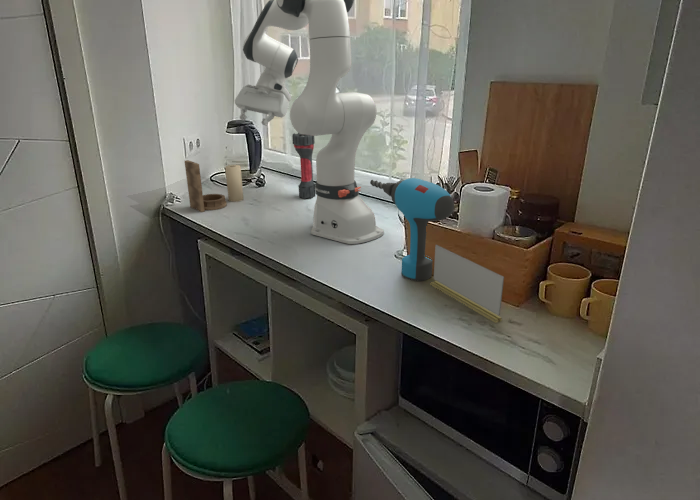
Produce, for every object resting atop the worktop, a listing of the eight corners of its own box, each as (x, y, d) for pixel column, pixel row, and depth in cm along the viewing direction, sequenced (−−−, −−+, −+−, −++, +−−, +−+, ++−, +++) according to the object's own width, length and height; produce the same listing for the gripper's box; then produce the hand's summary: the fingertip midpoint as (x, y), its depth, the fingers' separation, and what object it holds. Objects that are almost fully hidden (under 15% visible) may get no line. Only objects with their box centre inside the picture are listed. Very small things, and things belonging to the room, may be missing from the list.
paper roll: (246, 199, 184) (243, 166, 180) (233, 202, 181) (230, 168, 176) (238, 196, 188) (235, 163, 183) (225, 199, 185) (222, 165, 180)
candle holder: (232, 206, 177) (227, 159, 171) (202, 212, 170) (197, 165, 164) (217, 200, 184) (213, 155, 178) (189, 206, 177) (183, 160, 171)
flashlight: (300, 201, 182) (297, 135, 173) (292, 196, 188) (288, 132, 179) (320, 198, 185) (318, 133, 176) (311, 193, 191) (309, 130, 183)
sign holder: (501, 321, 104) (507, 276, 100) (495, 323, 103) (500, 278, 99) (435, 283, 120) (438, 243, 116) (429, 285, 119) (431, 244, 116)
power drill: (357, 255, 136) (357, 168, 127) (383, 248, 140) (385, 163, 131) (429, 295, 114) (435, 193, 105) (457, 285, 119) (465, 187, 110)
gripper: (240, 78, 185) (224, 111, 183) (288, 88, 178) (272, 122, 175) (248, 89, 191) (233, 121, 188) (295, 98, 184) (280, 132, 181)
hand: (252, 121), depth 182 cm, fingers open, 8 cm apart
